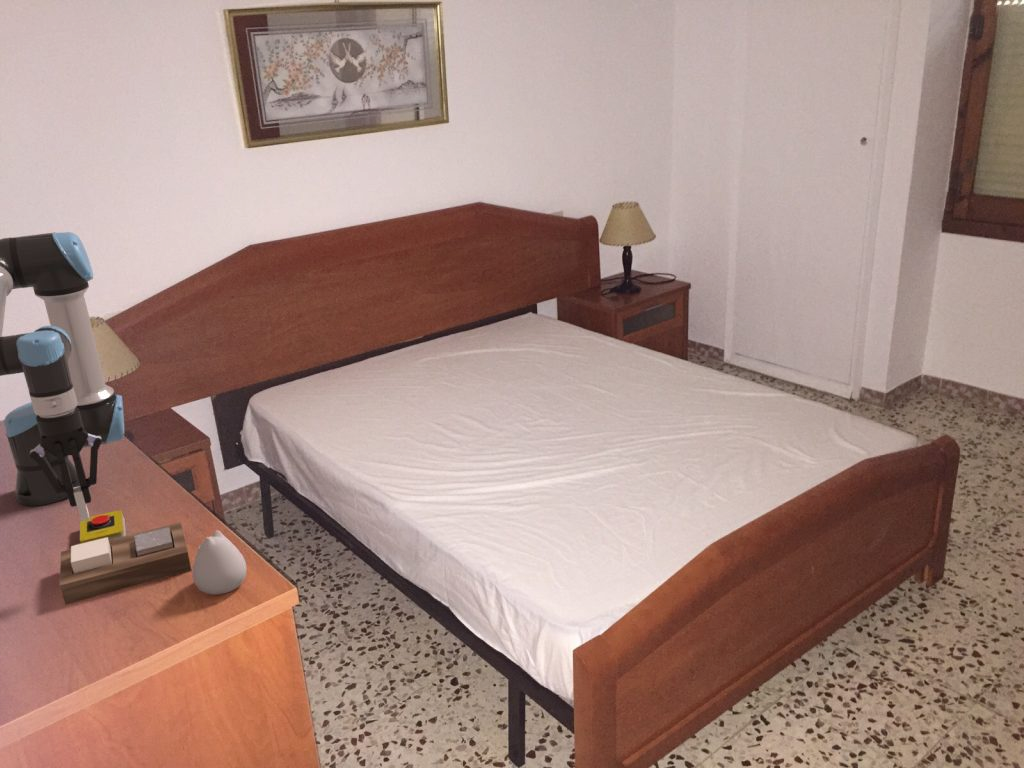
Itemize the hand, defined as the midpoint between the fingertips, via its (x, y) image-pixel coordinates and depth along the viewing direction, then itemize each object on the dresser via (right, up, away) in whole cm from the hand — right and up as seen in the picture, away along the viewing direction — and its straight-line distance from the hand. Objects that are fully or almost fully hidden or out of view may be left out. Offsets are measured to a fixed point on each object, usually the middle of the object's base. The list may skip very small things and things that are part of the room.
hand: (85, 517), depth 169 cm
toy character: (+28, -14, 0) cm, 31 cm away
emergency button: (-7, -8, +21) cm, 24 cm away
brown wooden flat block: (+5, -12, +7) cm, 15 cm away
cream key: (0, -10, +3) cm, 11 cm away
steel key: (+11, -9, +9) cm, 16 cm away
